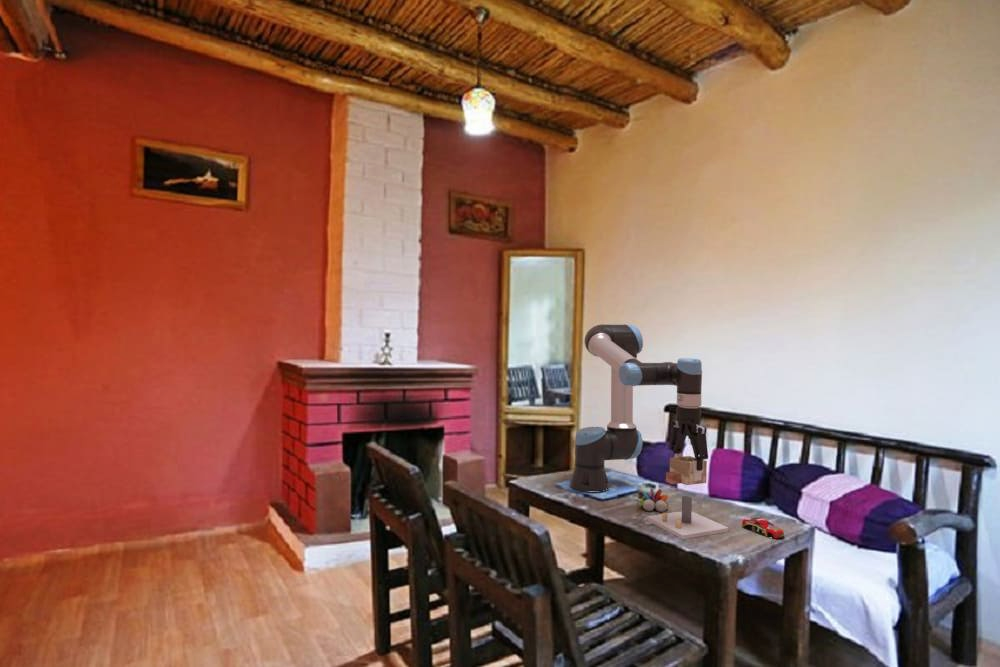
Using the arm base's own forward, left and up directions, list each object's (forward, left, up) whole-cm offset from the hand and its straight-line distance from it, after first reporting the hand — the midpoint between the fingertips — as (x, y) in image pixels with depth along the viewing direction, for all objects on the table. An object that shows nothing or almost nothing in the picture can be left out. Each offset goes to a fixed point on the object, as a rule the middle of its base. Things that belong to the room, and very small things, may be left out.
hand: (687, 476), depth 183 cm
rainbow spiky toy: (-18, +1, -16) cm, 24 cm away
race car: (+13, +19, -16) cm, 28 cm away
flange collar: (0, -2, -1) cm, 2 cm away
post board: (0, 0, -16) cm, 16 cm away
